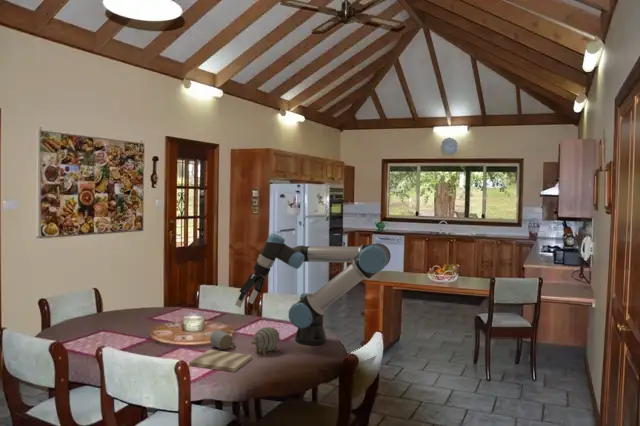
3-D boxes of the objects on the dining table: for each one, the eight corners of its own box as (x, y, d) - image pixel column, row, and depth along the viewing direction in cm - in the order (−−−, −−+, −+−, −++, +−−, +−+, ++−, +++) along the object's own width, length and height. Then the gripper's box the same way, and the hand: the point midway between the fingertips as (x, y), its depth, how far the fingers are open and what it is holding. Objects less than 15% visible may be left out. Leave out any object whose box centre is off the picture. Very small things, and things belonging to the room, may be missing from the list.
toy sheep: (286, 350, 246) (287, 326, 246) (262, 359, 232) (263, 333, 231) (267, 345, 252) (268, 322, 251) (243, 354, 238) (244, 329, 237)
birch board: (251, 358, 232) (251, 355, 232) (234, 372, 215) (234, 368, 215) (209, 353, 237) (209, 349, 237) (189, 365, 220) (189, 361, 220)
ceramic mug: (220, 351, 240) (221, 334, 240) (209, 347, 245) (210, 330, 245) (239, 347, 248) (239, 331, 247) (228, 343, 253) (228, 327, 253)
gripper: (267, 259, 266) (248, 297, 268) (246, 262, 242) (225, 303, 244) (280, 267, 264) (261, 305, 266) (259, 270, 240) (238, 311, 242)
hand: (244, 304), depth 255 cm, fingers open, 13 cm apart
